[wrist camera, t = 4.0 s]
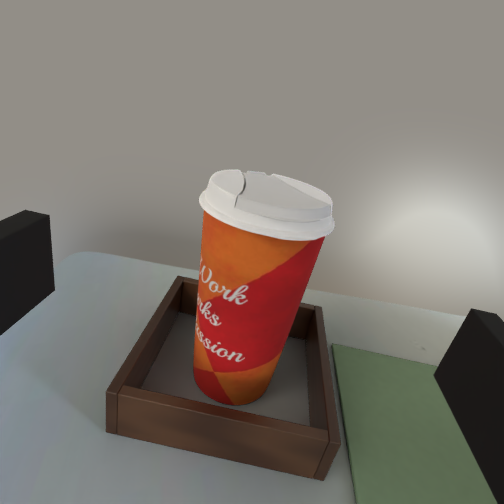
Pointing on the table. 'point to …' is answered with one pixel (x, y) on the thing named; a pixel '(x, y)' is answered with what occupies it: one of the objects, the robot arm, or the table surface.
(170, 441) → the crate
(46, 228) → the robot arm
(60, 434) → the table surface
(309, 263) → the coffee cup
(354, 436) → the mat
